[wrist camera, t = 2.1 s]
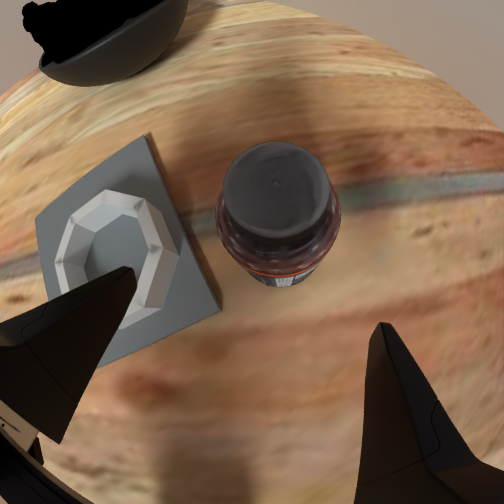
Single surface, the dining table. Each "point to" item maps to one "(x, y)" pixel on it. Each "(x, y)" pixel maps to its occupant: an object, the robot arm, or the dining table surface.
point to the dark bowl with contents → (101, 37)
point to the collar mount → (126, 248)
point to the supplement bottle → (278, 212)
